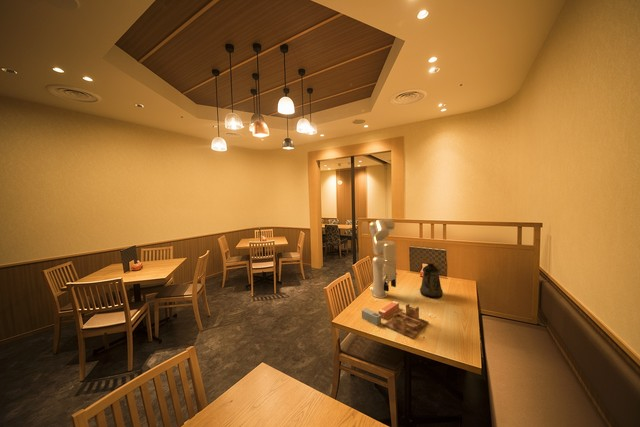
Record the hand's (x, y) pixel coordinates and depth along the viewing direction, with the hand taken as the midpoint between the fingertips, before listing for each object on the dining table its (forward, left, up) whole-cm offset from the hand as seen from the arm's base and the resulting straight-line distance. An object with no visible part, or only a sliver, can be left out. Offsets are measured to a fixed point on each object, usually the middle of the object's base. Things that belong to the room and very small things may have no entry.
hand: (389, 288), depth 142 cm
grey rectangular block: (-8, -10, -21) cm, 24 cm away
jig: (+10, +1, -21) cm, 23 cm away
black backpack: (+5, +55, -21) cm, 59 cm away
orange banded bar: (-5, +7, -21) cm, 23 cm away
